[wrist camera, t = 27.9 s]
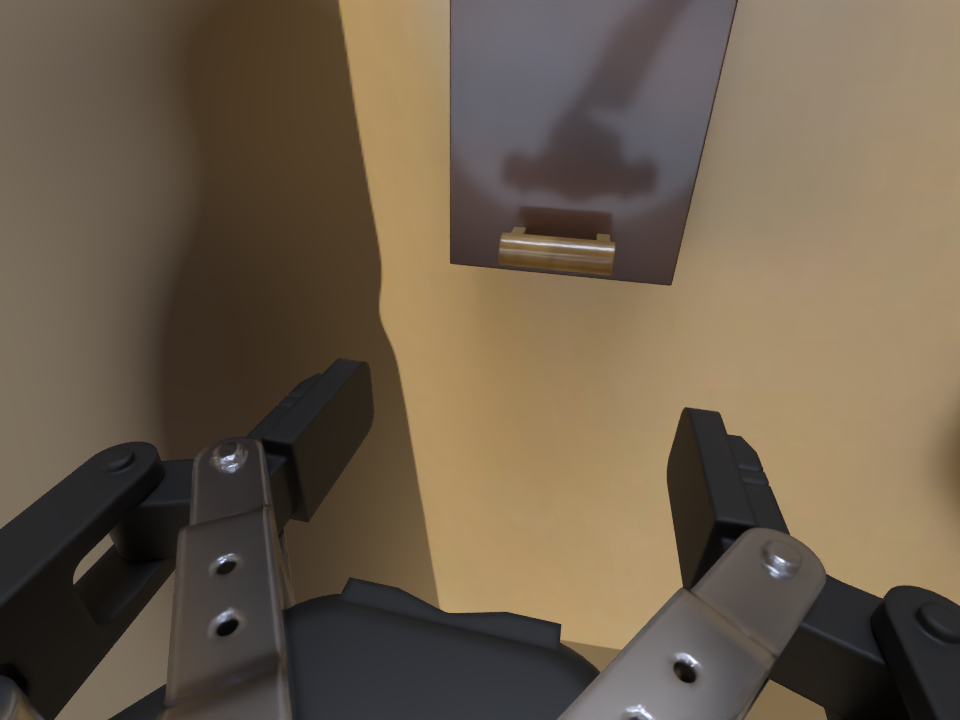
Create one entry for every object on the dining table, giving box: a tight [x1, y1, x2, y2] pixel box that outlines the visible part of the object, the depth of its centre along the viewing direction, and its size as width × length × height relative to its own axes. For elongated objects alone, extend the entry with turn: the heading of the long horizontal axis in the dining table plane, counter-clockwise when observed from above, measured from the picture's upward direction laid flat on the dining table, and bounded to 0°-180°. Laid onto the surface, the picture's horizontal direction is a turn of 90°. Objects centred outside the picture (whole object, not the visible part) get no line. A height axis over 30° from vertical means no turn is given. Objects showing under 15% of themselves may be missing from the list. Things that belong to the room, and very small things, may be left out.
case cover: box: [450, 0, 738, 286], centre depth 23 cm, size 15×13×5 cm
